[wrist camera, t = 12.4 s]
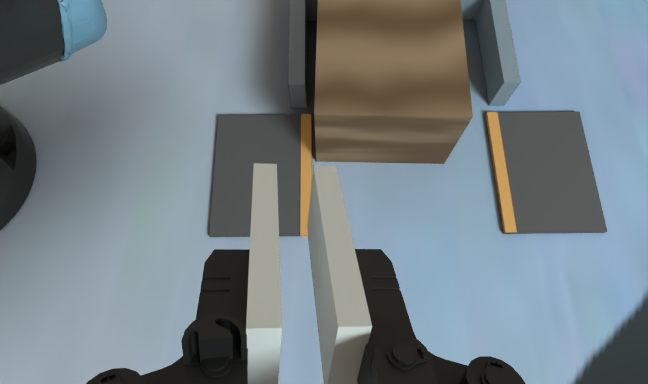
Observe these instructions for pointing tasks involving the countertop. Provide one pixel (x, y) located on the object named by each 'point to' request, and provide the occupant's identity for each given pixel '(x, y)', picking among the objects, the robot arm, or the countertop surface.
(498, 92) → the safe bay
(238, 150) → the mats
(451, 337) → the countertop surface
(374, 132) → the walnut block
